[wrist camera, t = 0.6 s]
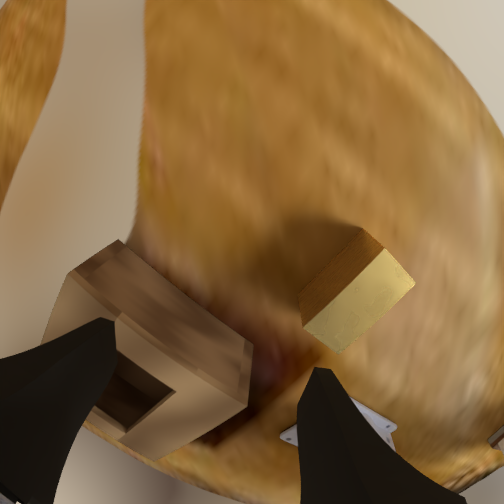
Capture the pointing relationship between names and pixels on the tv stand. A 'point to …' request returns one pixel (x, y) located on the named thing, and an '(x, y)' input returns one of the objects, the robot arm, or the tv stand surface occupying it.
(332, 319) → the block
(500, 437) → the stacked grey cubes
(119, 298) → the box
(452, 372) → the tv stand surface
